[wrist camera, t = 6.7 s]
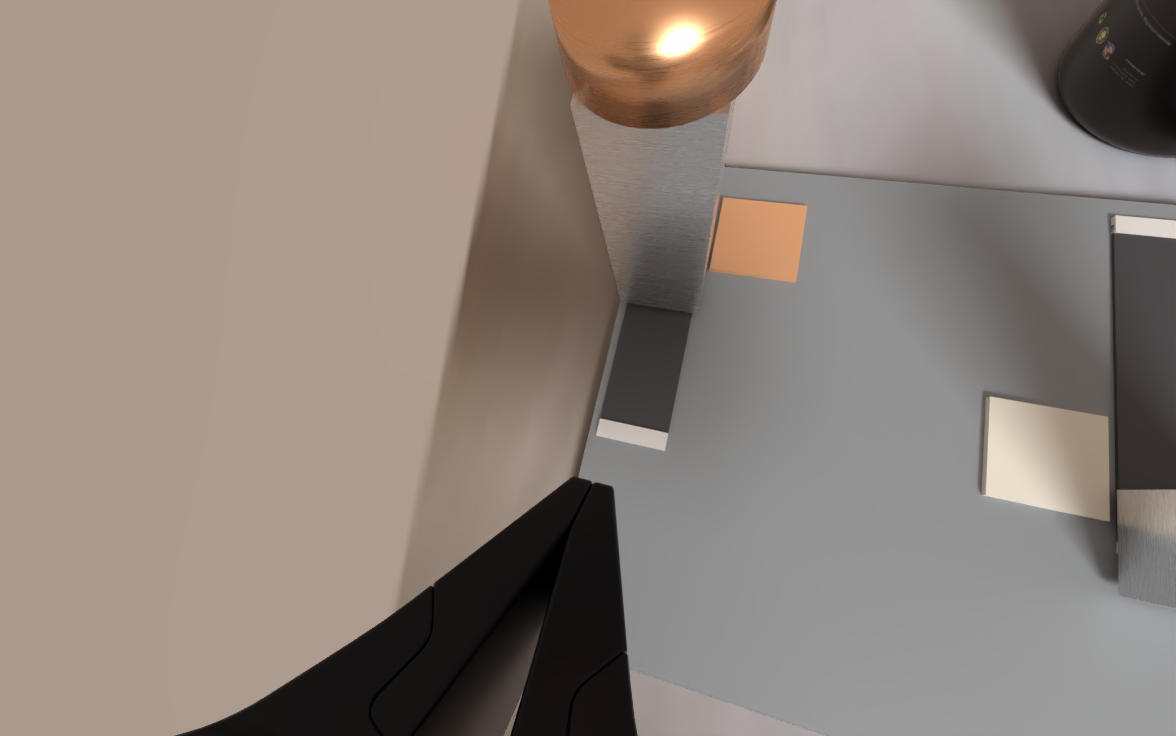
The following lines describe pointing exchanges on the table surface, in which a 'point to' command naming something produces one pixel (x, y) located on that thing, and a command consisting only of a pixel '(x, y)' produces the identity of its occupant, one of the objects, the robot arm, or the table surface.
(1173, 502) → the lever
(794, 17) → the table surface
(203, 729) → the robot arm
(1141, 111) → the supplement bottle
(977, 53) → the table surface
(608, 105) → the lever
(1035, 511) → the switch board
